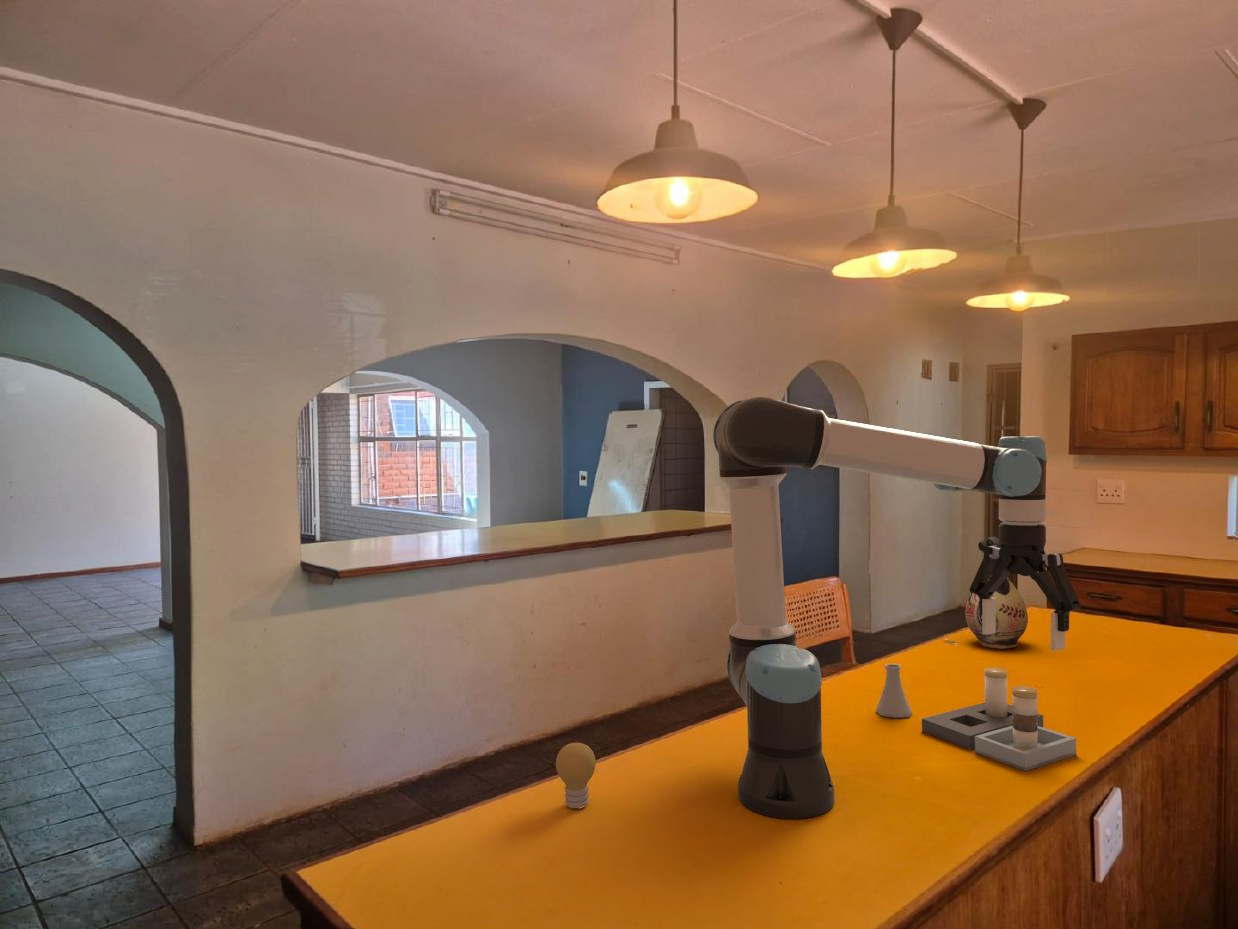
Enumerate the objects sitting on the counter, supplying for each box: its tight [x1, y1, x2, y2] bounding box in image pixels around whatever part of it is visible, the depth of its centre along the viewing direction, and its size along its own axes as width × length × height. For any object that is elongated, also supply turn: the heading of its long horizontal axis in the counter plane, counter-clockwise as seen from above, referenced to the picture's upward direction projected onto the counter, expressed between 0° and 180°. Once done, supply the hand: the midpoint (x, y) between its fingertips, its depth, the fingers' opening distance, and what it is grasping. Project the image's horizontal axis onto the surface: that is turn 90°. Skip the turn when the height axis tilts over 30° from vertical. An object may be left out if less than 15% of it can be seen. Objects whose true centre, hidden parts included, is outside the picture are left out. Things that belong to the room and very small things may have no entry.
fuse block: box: [921, 702, 1044, 750], centre depth 159 cm, size 21×11×2 cm, turn 118°
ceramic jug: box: [964, 536, 1029, 650], centre depth 221 cm, size 17×15×30 cm
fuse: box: [983, 667, 1008, 719], centre depth 161 cm, size 4×4×11 cm
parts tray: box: [974, 726, 1077, 773], centre depth 147 cm, size 14×10×3 cm
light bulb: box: [555, 742, 597, 809], centre depth 130 cm, size 6×6×10 cm
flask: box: [875, 663, 913, 719], centre depth 170 cm, size 7×7×10 cm
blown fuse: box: [1011, 685, 1039, 751], centre depth 146 cm, size 4×4×11 cm
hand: (1022, 641), depth 146 cm, fingers open, 13 cm apart
